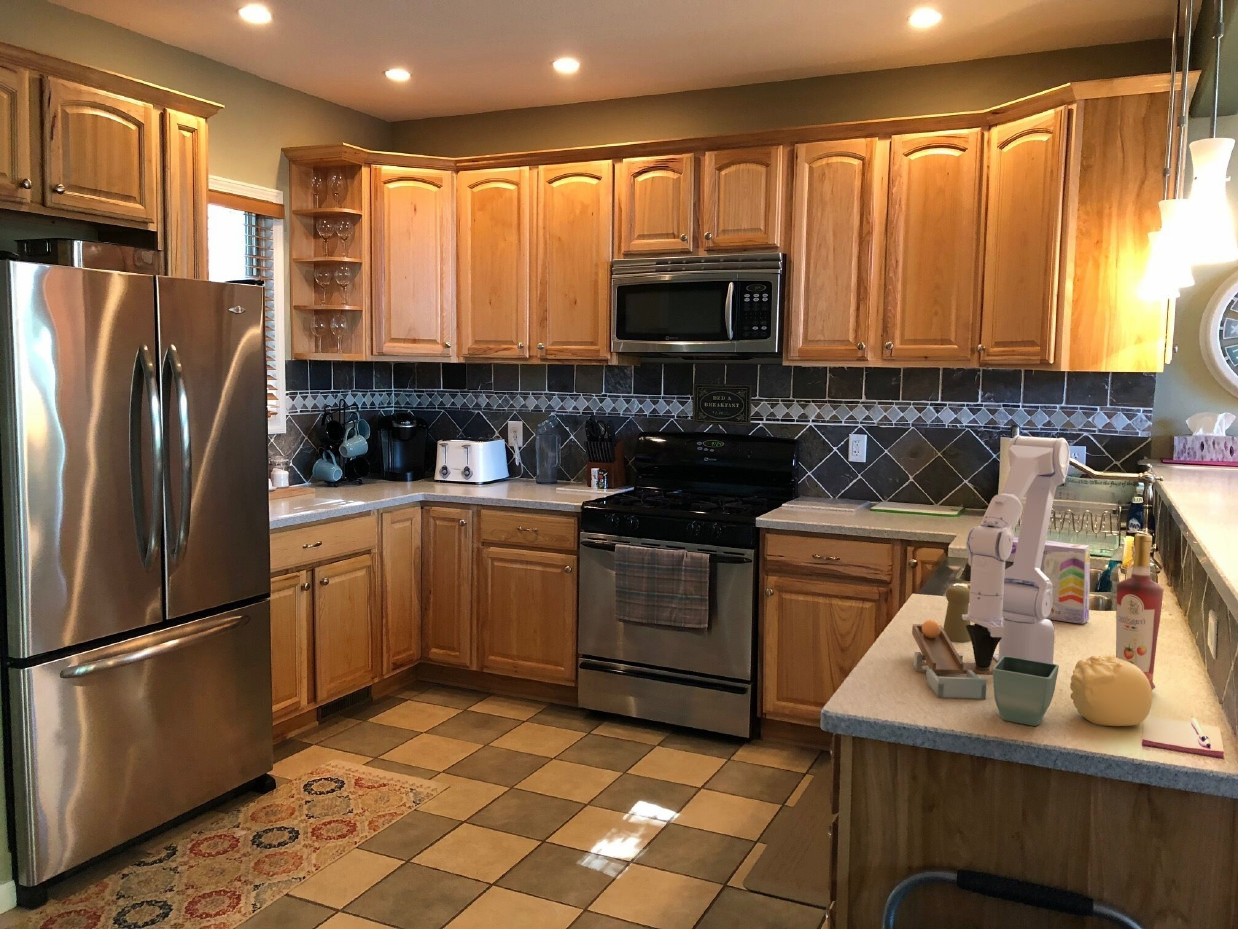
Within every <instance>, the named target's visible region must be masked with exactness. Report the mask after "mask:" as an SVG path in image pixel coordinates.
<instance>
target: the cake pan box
mask: <svg viewBox="0 0 1238 929" xmlns="http://www.w3.org/2000/svg"><path fill="white" fill-rule="evenodd" d="M1018 538H1019V537H1015V536H1014V539H1013V545H1012V551H1011V554H1010V555H1009V557H1008V559H1007V560H1005V569H1007V568H1009V567H1011V566H1012V565H1013V564H1014V559H1015V553H1016V548H1017V543H1018ZM1040 570H1041V571H1042V572H1043V573H1044V574H1045V575H1046V576H1047V577H1048V578H1049V580H1050V581H1051V582H1052V584H1053V590H1052V608H1051V612H1050V614H1049V616H1048V617H1047V618H1046V619H1048V620H1050V621H1051V620H1052V621H1059V622H1060V621H1061V622H1065V623H1066V622H1067V623H1072V624H1073V623H1074V624H1081V625H1083V624H1086V623H1087V622H1089V619H1090V590H1091V588H1090V586H1091V583H1090V582H1091V579H1090V578H1091V576H1090V575H1091V574H1090V573H1091V545H1087V544H1077V543H1068V542H1066V543H1065V542H1061V541H1060V542H1059V541H1054V540H1046V542H1045V547H1044V552H1043V557H1042V563H1041V568H1040ZM1014 583H1018V584H1024V585H1030V586H1036V587H1039V586H1038V585H1032V584H1026V583H1020V582H1014Z"/></svg>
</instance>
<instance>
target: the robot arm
mask: <svg viewBox="0 0 1238 929" xmlns="http://www.w3.org/2000/svg"><path fill="white" fill-rule="evenodd" d="M1070 451H1071V450H1070V445H1069V442H1067V440H1066V438H1064V437H1059V438H1056V437H1055V438H1053V437H1041V436H1040V437H1038V436H1025V435H1024V436H1023V435H1019V434H1017V435H1014V437H1013V438H1012V440H1010V443H1009V446H1008V452H1007V453H1008V454H1007V455H1008V456H1007V457H1008V462H1009V467H1010V468H1009V470H1008V471H1009V472H1008V474H1007V477H1006V479H1005V482H1004V485H1003V488H1002V491H1001V493H1000V494H995V495H994V496H993V497H992V498H991V500H990V502H989V505H988V507H987V509H986V511H985V513H984V515H983V517H982V519H981V521H980V523H979V525H976V526H974V527H971V529H970V530H969V532H968V534H967V538H966V542H965V544H966V545H965V546H966V552H967V556H968V560H967V561H968V562H967V563H968V566H970V584H969V589H970V601H969V607H968V614H963V615H962V619H963V620H966V621H970V623H974V624H971V625H966V629H967V631H968V633H969V635H970V638H971V641H970V642H971V646H972V651H973V652H972V653H973V657H974V658H973V659H974V663H976V665H977V666H978V667H990V664H991V665H992V661H993V659H994V660H995V661H997V662H998V661H999V660H1000V658H1001V657H1002V656H1010V657H1016V658H1022V659H1027V660H1033V661H1039V662H1046V663H1052V664H1054V654H1055V653H1054V652H1055V636H1056V635H1055V628H1054V625H1053V622H1052V621H1051V619H1046V618H1047V617H1048V616H1049V614H1050V612H1051V608H1052V590H1053V584H1052V582H1051V581H1050V580H1049V578H1048V577H1047V576H1046V575H1045V574H1044V573H1043V572H1042V571H1041V570H1040V568H1041V563H1042V557H1043V552H1044V547H1045V542H1046V541H1047V536H1048V531H1049V526H1050V520H1051V513H1052V510H1053V503H1054V499H1055V494H1056V490H1057V487H1058V486H1060V485H1063V484H1065V483H1066V478H1067V475H1068V470H1069V464H1070V462H1071V461H1070V460H1071V452H1070ZM1025 495H1026V498H1025V503H1024V507H1023V505H1022V503H1021V501H1022V500H1023V499H1024V496H1025ZM1021 516H1022V518H1021ZM1020 518H1021V523H1020V527H1019V528H1020V529H1019V533H1018V537H1017V538H1018V543H1017V548H1016V553H1015V559H1014V564H1013V565H1012V566H1011V567H1009V568H1007V569H1005V560H1007V559H1008V557H1009V555H1010V554H1011V551H1012V545H1013V539H1014V537H1015V533H1014V531H1015V529H1016V526H1017V524H1018V522H1019V520H1020ZM1014 582H1020V583H1026V584H1032V585H1038V586H1039V587H1036V586H1030V585H1024V584H1018V583H1014ZM997 647H998V653H995V651H996V649H997ZM997 662H996V663H997Z"/></svg>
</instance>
